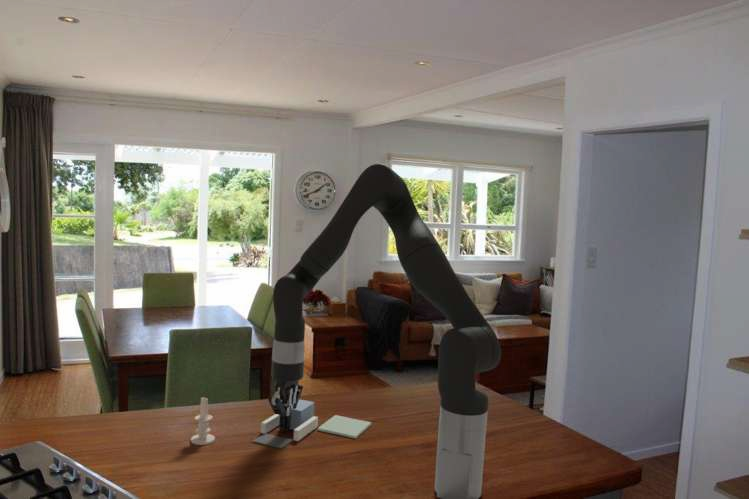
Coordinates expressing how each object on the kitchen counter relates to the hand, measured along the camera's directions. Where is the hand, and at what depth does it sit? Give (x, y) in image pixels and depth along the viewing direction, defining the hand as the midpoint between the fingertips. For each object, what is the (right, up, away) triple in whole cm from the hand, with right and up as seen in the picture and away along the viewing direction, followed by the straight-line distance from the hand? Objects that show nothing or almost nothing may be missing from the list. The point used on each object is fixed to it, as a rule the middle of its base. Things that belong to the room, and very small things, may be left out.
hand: (284, 429), depth 145 cm
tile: (+14, -1, +6) cm, 15 cm away
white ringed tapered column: (-18, -1, -7) cm, 19 cm away
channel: (0, -1, 0) cm, 1 cm away
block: (+2, -1, +6) cm, 6 cm away
